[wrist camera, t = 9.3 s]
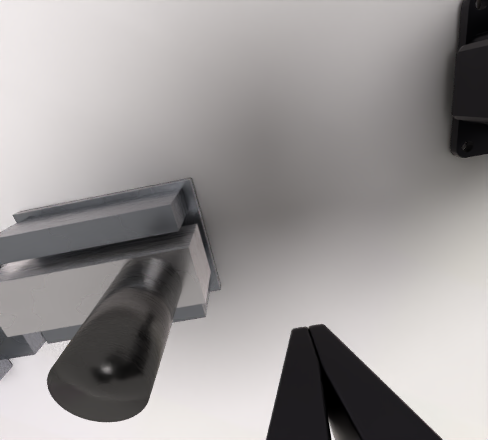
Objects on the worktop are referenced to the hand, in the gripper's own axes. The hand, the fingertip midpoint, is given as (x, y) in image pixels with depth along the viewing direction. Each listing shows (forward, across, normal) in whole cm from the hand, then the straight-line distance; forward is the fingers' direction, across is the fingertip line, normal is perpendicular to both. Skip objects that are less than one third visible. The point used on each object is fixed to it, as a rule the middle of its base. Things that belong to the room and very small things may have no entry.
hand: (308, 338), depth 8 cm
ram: (+6, +10, 0) cm, 12 cm away
